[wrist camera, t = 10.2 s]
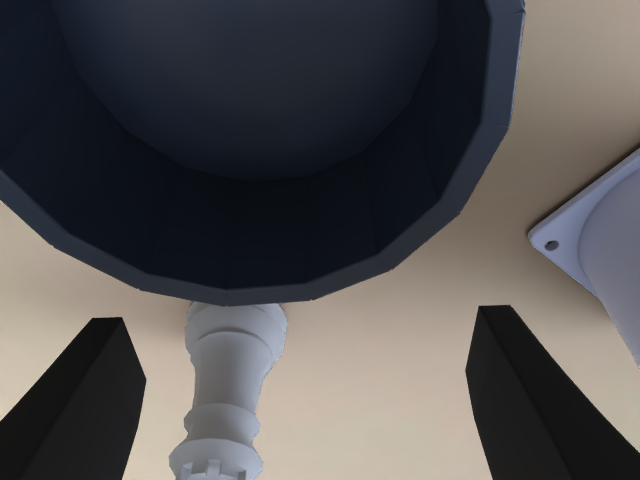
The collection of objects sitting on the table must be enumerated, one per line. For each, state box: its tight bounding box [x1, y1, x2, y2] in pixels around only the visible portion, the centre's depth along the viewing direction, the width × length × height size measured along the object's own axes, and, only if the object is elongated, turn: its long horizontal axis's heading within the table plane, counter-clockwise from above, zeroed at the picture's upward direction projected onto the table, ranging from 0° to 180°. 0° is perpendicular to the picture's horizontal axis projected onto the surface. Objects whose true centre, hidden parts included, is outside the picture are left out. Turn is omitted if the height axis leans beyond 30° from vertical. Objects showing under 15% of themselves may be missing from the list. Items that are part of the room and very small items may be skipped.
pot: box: [0, 0, 526, 307], centre depth 14 cm, size 12×12×6 cm
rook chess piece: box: [169, 301, 288, 480], centre depth 21 cm, size 4×4×8 cm
